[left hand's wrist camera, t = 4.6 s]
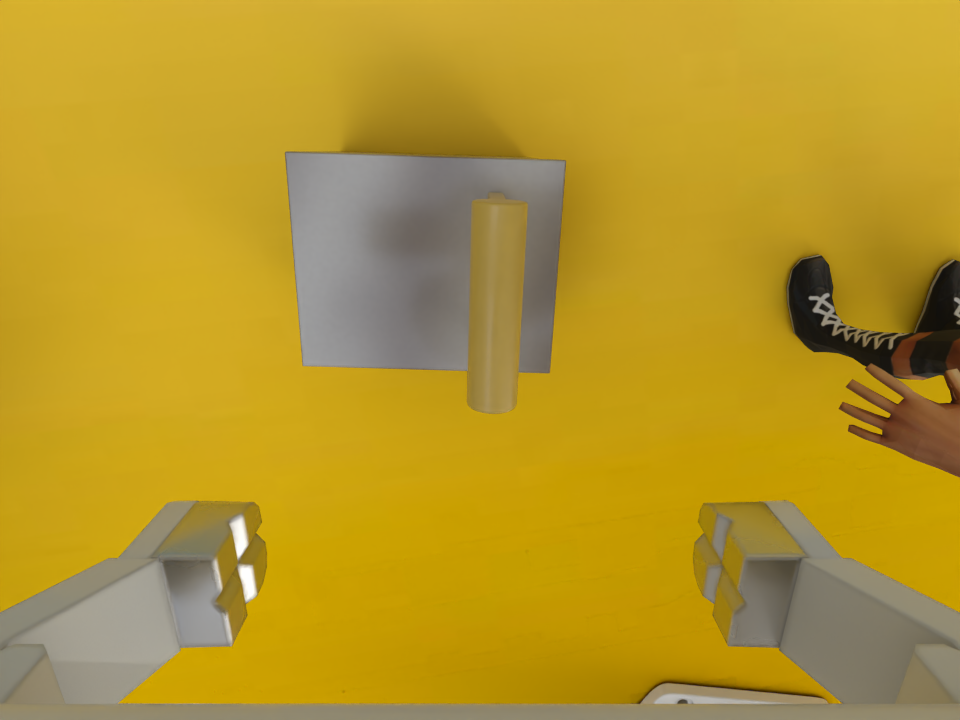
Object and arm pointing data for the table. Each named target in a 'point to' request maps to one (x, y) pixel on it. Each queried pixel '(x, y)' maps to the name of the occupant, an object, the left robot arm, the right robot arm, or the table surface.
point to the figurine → (892, 361)
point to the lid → (428, 264)
